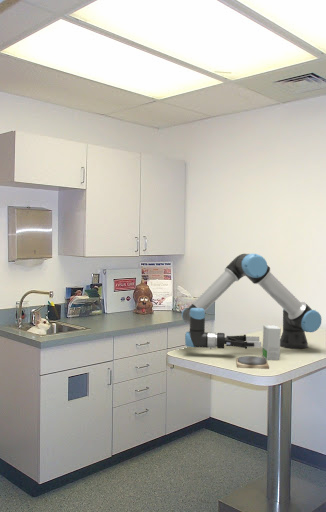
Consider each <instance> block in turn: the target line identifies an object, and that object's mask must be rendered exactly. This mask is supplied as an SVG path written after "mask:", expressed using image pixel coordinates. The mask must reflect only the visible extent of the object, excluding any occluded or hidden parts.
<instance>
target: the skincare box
mask: <svg viewBox="0 0 326 512" xmlns="http://www.w3.org/2000/svg"><path fill="white" fill-rule="evenodd" d="M262 330H263V331H262V354H261V355H262V358H265V359H267V361H280V354H281V353H280V352H281V351H280V350H281V346H280V338H281V335H282V333H281V330H282V329H281V328H280V327H279V326H277V325H273V324H272V325H271V324H270V325H269V324H267V325H266V324H265V325H263V329H262Z"/></svg>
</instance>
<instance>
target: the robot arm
mask: <svg viewBox="0 0 326 512" xmlns="http://www.w3.org/2000/svg"><path fill="white" fill-rule="evenodd" d="M243 277H246V278H247V279H248V280H250V281H251V282H252V284H253V285H259V286H260V287H261V288H262V289H263V290H264V291H265V292H266V293H267V295H269V296H270V297H271V298H272V300H274V301H275V302H276V303H277V304H278V305H279V306H280V307H281V308H282V333H281V335H280V347H283V348H285V349H286V348H287V349H307V348H308V347H309V346H308V345H309V342H308V339H307V335H306V333H314V332H316V331H318V330H319V329H320V328H321V325H322V315H321V314H320V313H319V311H317V310H316V309H312V308H311V307H310V306H309V305H308V304H307V302H305V301H300V300H299V299H298V298H297V297H296V296H295V295H294V294H293V293H292V292H291V291H290V290H289V289H288V288H287V287H286V286H285V285H284V284H283V283H282V282H281V281H280V280H279V279H278V278H277V277H276V276H275V275H274V274H273V273H272V272H271V267H270V266H269V265H268V263H267V260H266V259H265V258H264V257H263V256H262V255H260V254H257V253H242V254H239V255H237V256H236V257H235V258H233V260H231V262H230V263H229V264H228V265H226V267H225V268H224V271H223V272H222V274H220V276H218V278H217V279H216V280H214V281H213V282H212V283H211V285H210V286H208V288H206V289H205V291H204V292H203V293H202V294H201V295H200V296H199V297H198V298H197V299H195V301H193V303H192V304H191V305H190V306H188V307H187V308H184V309H183V310H182V311H181V316H180V317H181V319H182V320H183V321H184V323H186V324H189V330H188V331H186V332H185V338H184V339H185V340H184V341H185V342H184V344H185V346H186V347H189V348H202V349H203V348H204V349H205V348H206V349H208V348H209V349H210V350H212V349H216V348H217V349H224V348H225V346H227V347H235V348H242V349H245V350H247V349H248V348H257V349H258V348H259V349H260V348H262V341H260V336H253V335H252V336H251V335H247V334H243V335H226V336H225V332H217V333H216V332H207V331H205V329H206V328H205V325H206V324H205V323H206V322H205V321H206V311H207V310H208V309H209V308H210V307H211V306H212V305H214V303H215V302H216V301H217V300H218V299H219V298H220V297H221V296H222V295H223V294H224V293H225V292H226V291H228V289H229V288H230V287H231V286H232V285H233V284H234V283H235V282H239V280H240V279H242V278H243Z"/></svg>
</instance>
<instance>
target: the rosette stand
mask: <svg viewBox="0 0 326 512" xmlns="http://www.w3.org/2000/svg"><path fill="white" fill-rule="evenodd" d="M235 362H236V368H238V369H239V368H243V369H264V370H266V369H267V370H269V369H270V365H269V362H268V360H267V359H265V358H264V357H263V356H262V357H261V356H253V355H251V356H250V355H247V356H246V355H244V356H243V355H242V356H239V357H236V361H235Z"/></svg>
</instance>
